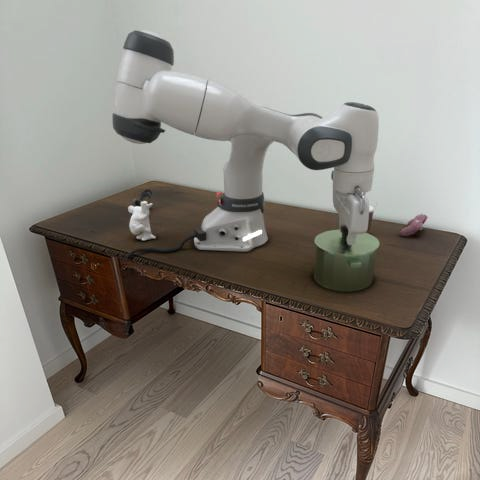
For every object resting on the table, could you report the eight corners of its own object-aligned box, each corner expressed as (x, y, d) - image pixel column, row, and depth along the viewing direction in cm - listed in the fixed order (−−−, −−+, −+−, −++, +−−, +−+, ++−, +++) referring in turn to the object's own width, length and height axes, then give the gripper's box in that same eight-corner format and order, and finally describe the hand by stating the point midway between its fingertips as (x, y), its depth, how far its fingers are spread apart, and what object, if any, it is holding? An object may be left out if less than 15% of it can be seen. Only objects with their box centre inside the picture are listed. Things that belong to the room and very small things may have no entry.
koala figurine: (162, 236, 146) (157, 199, 140) (149, 244, 141) (144, 205, 135) (140, 232, 150) (134, 195, 143) (127, 240, 144) (120, 202, 138)
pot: (321, 298, 111) (324, 262, 106) (308, 262, 128) (310, 229, 122) (382, 296, 111) (388, 259, 106) (361, 260, 128) (365, 227, 123)
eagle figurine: (157, 209, 165) (157, 196, 172) (143, 194, 161) (144, 182, 167) (140, 220, 168) (141, 208, 174) (127, 206, 163) (128, 193, 170)
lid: (320, 260, 108) (321, 241, 105) (309, 235, 121) (310, 217, 118) (387, 257, 108) (390, 238, 106) (369, 232, 121) (371, 215, 119)
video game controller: (410, 243, 140) (424, 225, 136) (397, 234, 141) (411, 216, 136) (418, 232, 147) (432, 215, 143) (406, 224, 148) (420, 206, 143)
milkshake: (373, 238, 141) (378, 205, 135) (355, 237, 142) (359, 205, 136) (373, 232, 144) (377, 200, 139) (355, 231, 145) (359, 200, 140)
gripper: (379, 194, 97) (371, 254, 105) (355, 168, 114) (349, 222, 122) (349, 195, 97) (343, 256, 105) (330, 169, 114) (325, 223, 122)
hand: (346, 237), depth 113 cm, fingers open, 6 cm apart
